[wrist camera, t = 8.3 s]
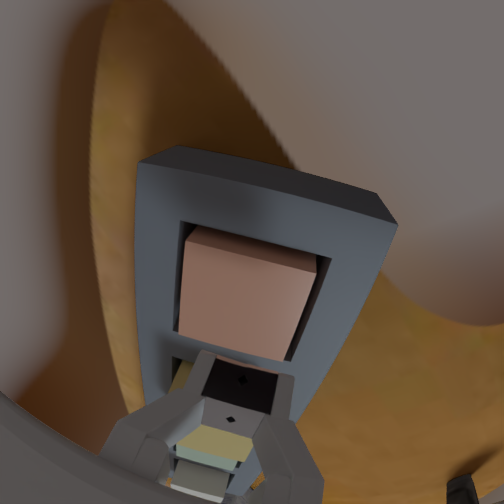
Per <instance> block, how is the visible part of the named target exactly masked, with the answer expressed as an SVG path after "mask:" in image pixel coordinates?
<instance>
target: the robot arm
mask: <svg viewBox="0 0 504 504" xmlns="http://www.w3.org/2000/svg"><path fill="white" fill-rule="evenodd" d="M294 381H295V378H294V376H292V375H288V374H284V373H280V372H277V371H273V370H269V369H265V368H262V367H258V366H254V365H250V364H245V363H241V362H238V361H235V360H232V359H229V358H226V357H223V356H220V355H217V354H214V353H211V352H208V351H205V350H201V351H200V353H199V354H198V357H197V359H196V361H195V363H194V365H193V368H192V370H191V372H190V374H189V376H188V379H187V381H186V383H185V385H184V388H183V389H180V388H177V389H175V390H173V391H172V392H170V393H168V394H166V395H165V396H163V397H161V398H159V399H157V400H156V401H154V402H152V403H150V404H148V405H146V406H145V407H143V408H141V409H139V410H137V411H135V412H133V413H131V414H129V415H128V416H126V417H124V418H122V419H120V420H118V421H117V423H116V425H115V426H114V428H113V430H112V432H111V434H110V435H109V437H108V439H107V441H106V443H105V445H104V446H103V448H102V450H101V452H100V454H99V456H97V455H95V454H93V453H92V452H90V451H88V450H86V449H84V448H82V447H81V446H79V445H77V444H75V443H74V442H72V441H70V440H69V439H67V438H65V437H64V436H62V435H60V434H59V433H57V432H56V431H54V430H53V429H51V428H50V427H48V426H46V425H45V424H44V423H42V422H40V421H39V420H38V419H36V418H35V417H33V416H32V415H31V414H29V413H28V412H27V411H25V410H24V409H23V408H21V407H20V406H19V405H17V404H16V403H15V402H13V401H12V400H11V399H10V398H8V397H7V396H6V395H5V394H3V393H2V392H1V391H0V504H221V503H218V502H214V501H210V500H207V499H203V498H200V497H197V496H193V495H190V494H187V493H184V492H181V491H178V490H175V489H172V488H170V487H167V486H165V484H166V481H167V478H168V476H169V473H170V460H169V448H170V447H172V446H173V445H175V444H176V443H177V442H179V441H180V440H182V439H183V438H184V437H186V436H187V435H189V434H190V433H191V432H193V431H194V430H195V429H197V428H198V427H199V426H201V424H202V425H205V426H209V427H212V428H216V429H219V430H223V431H227V432H230V433H233V434H237V435H240V436H243V437H247V438H251V439H252V443H253V446H254V449H255V451H256V454H257V457H258V460H259V463H260V466H261V468H262V471H263V474H264V477H265V480H264V481H263V482H262V483H261V484H260V485H259V486H258V487H257V488H256V489H254V490H253V491H252V492H251V493H250V495H249V499H248V503H247V504H322V497H323V488H324V479H323V477H322V475H321V473H320V471H319V470H318V468H317V466H316V464H315V462H314V460H313V458H312V456H311V454H310V452H309V451H308V449H307V447H306V445H305V443H304V441H303V439H302V437H301V435H300V433H299V431H298V429H297V427H296V425H295V423H294V421H292V420H289V415H290V408H291V402H292V395H293V388H294ZM493 504H504V500H503V501H500V502H497V503H493Z"/></svg>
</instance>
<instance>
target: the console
mask: <svg viewBox="0 0 504 504" xmlns="http://www.w3.org/2000/svg"><path fill="white" fill-rule="evenodd" d="M198 225H202V226H206V227H210V228H214V229H218V230H222V231H226V232H230V233H234V234H238V235H243V236H247V237H251V238H255V239H259V240H263V241H267V242H271V243H275V244H279V245H282V246H286V247H290V248H294V249H298V250H302V251H306V252H310V253H314V254H316V277H315V279H314V282H313V285H312V288H311V290H310V293H309V296H308V298H307V301H306V304H305V306H304V309H303V312H302V314H301V317H300V320H299V322H298V325H297V327H296V330H295V332H294V335H293V337H292V340H291V342H290V345H289V347H288V350H287V352H286V355H285V357H284V360H283V362H281V361H276V360H272V359H268V358H263V357H259V356H255V355H251V354H247V353H243V352H239V351H235V350H232V349H228V348H224V347H220V346H217V345H213V344H210V343H206V342H203V341H199V340H196V339H192V338H189V337H186V336H182V335H179V334H178V332H179V314H180V299H181V285H182V273H183V261H184V250H185V241H186V239H187V238H188V237H189V236H190V234H191V233H192V232H193V230H194V229H195V228H196V227H197V226H198ZM397 227H398V224H397V222H396V221H395V219H394V218H393V216H392V215H391V214H390V212H389V210H388V209H387V207H386V206H385V205H384V203H383V202H382V200H381V199H380V198H379V196H378V195H377V193H374V192H371V191H368V190H364V189H361V188H358V187H355V186H351V185H348V184H344V183H341V182H337V181H334V180H331V179H327V178H323V177H320V176H316V175H312V174H309V173H305V172H301V171H297V170H293V169H289V168H285V167H281V166H277V165H272V164H268V163H264V162H260V161H255V160H251V159H246V158H241V157H237V156H232V155H227V154H222V153H217V152H212V151H206V150H201V149H195V148H190V147H184V146H178V145H177V146H174V147H172V148H169V149H167V150H164V151H162V152H160V153H157V154H155V155H153V156H150V157H148V158H146V159H144V160H141V161H139V162H138V167H137V182H136V202H135V295H136V314H137V330H138V342H139V353H140V363H141V372H142V381H143V389H144V396H145V403H146V405H148V404H150V403H152V402H154V401H156V400H157V399H159V398H161V397H163V396H165V395H166V394H168V392H169V389H170V387H171V385H172V382H173V380H174V378H175V376H176V373H177V371H178V369H179V367H180V364H181V362H182V360H186V361H189V362H193V363H195V361H196V359H197V357H198V354H199V353H200V351H201V350H205V351H208V352H211V353H214V354H217V355H220V356H223V357H226V358H229V359H232V360H235V361H238V362H241V363H245V364H250V365H254V366H258V367H262V368H265V369H269V370H273V371H277V372H280V373H284V374H288V375H292V376H294V378H295V381H294V388H293V395H292V402H291V408H290V415H289V420H292V421H294V423H295V424H296V422H297V421H298V419H299V418H300V416H301V415H302V413H303V412H304V410H305V408H306V407H307V405H308V404H309V402H310V400H311V399H312V397H313V396H314V394H315V392H316V391H317V389H318V387H319V386H320V384H321V382H322V381H323V379H324V377H325V376H326V374H327V372H328V370H329V369H330V367H331V365H332V363H333V362H334V360H335V358H336V356H337V355H338V353H339V351H340V349H341V347H342V345H343V344H344V342H345V340H346V338H347V336H348V334H349V332H350V330H351V329H352V327H353V325H354V323H355V321H356V319H357V317H358V315H359V313H360V311H361V309H362V307H363V305H364V303H365V301H366V298H367V296H368V294H369V292H370V290H371V288H372V286H373V284H374V281H375V279H376V277H377V275H378V273H379V270H380V268H381V266H382V264H383V261H384V259H385V257H386V254H387V252H388V250H389V247H390V245H391V242H392V240H393V237H394V235H395V232H396V230H397ZM169 460H170V473H169V476H168V477H170V478H173V475H174V472H175V470H176V467H177V464H178V461H179V460H183V461H186V462H189V463H193V464H196V465H200V466H203V467H207V468H211V469H215V470H219V471H223V472H227V473H230V475H229V479H228V483H227V487H226V491H225V493H229V494H234V495H238V496H243V495H244V493H245V492H246V491H247V490H248V488H249V487H250V486H251V485H252V483H253V482H254V481H255V480H256V478H257V477H258V476H259V474H260V473H261V472H262V468H261V466H260V463H259V460H258V457H257V454H256V451H255V449H254V446H253V447H252V449H251V451H250V453H249V455H248V457H247V458H246V460H245V462H241V461H238V462H237V464H236V466H235V468H234V470H233V471H230V470H226V469H222V468H218V467H214V466H210V465H206V464H203V463H199V462H195V461H192V460H189V459H185V458H182V457H179V456H176V444H175V445H173V446H172V447H170V448H169Z"/></svg>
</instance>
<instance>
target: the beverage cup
mask: <svg viewBox="0 0 504 504" xmlns="http://www.w3.org/2000/svg"><path fill="white" fill-rule="evenodd" d="M446 495H447V504H479V501H478V497H477V493H476V490H475V486H474V482H473V480H472V478H471V475H470V474H467V475H463V476H460V477H458V478H456V479H453V480H452V481H450V482H448V483H447V492H446Z"/></svg>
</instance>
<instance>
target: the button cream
mask: <svg viewBox="0 0 504 504" xmlns="http://www.w3.org/2000/svg"><path fill="white" fill-rule="evenodd" d="M229 475H230V473H227V472H223V471H219V470H215V469H211V468H207V467H203V466H200V465H196V464H193V463H189V462H186V461H183V460H179V461H178V464H177V467H176V470H175V472H174V475H173V478H172V481H171V488H172V489H175V490H178V491H181V492H184V493H187V494H190V495H193V496H197V497H200V498H203V499H207V500H210V501H214V502H218V503H221V502H222V500H223V499H224V495H225V491H226V487H227V483H228V479H229Z"/></svg>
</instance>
